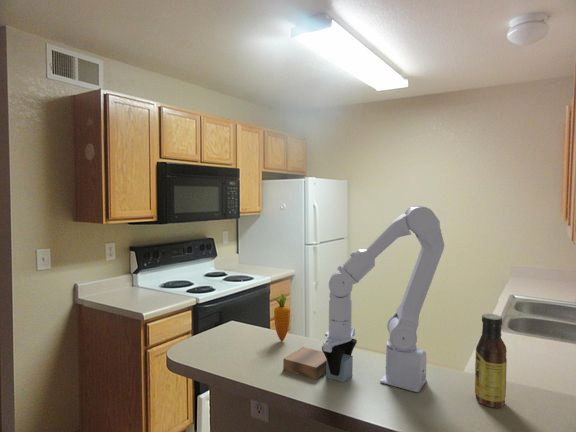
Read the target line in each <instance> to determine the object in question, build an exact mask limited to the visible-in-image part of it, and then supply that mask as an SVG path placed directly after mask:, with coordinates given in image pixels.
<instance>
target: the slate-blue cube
mask: <svg viewBox="0 0 576 432" xmlns="http://www.w3.org/2000/svg"><path fill="white" fill-rule="evenodd" d="M353 357H354V356H353V355H352V354H351V355H347V354H343V356H342V360H341V365H340V372H339V375H338V376H335V375H332V374H330V370H329V366H328V362H327V359H326V372H325V377H326V378H327V379H331V380H334V381H338V382H342V383H345V382H346V381H348V379H350V377H352V376H353Z"/></svg>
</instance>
